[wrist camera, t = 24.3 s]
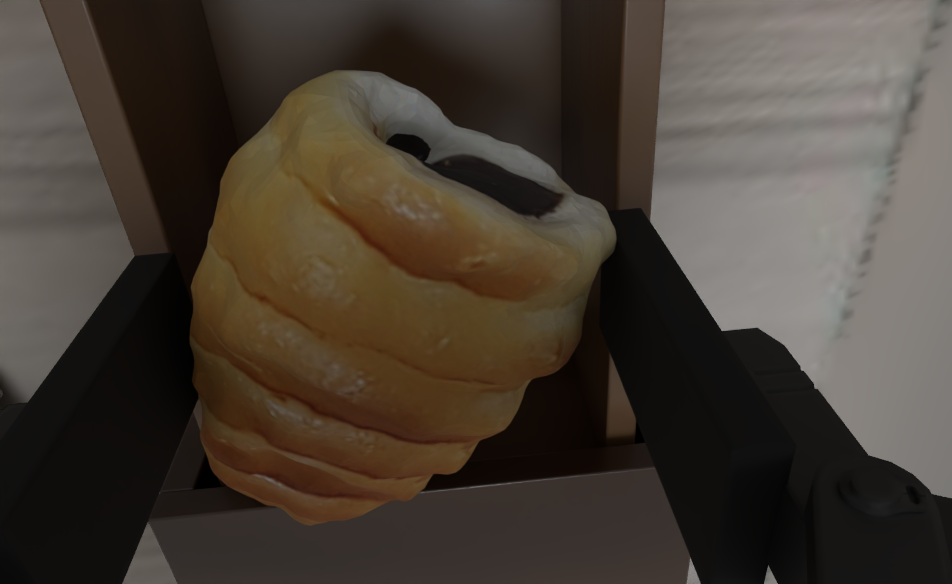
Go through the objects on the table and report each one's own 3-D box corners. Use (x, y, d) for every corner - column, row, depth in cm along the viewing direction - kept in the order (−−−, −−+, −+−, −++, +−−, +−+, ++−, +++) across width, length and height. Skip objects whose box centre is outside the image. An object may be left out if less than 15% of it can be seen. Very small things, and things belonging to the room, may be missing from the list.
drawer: (-5, -543, 14) (-411, -940, 7) (626, -584, 14) (819, -1002, 7) (259, 360, 25) (202, 537, 19) (599, 326, 26) (663, 488, 19)
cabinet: (236, 305, 25) (146, 520, 17) (611, 268, 26) (705, 461, 17) (325, 604, 35) (296, 838, 26) (599, 574, 35) (656, 796, 27)
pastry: (418, 494, 17) (417, 637, 14) (144, 409, 16) (71, 552, 12) (625, 182, 13) (690, 282, 10) (290, 13, 11) (237, 69, 8)
